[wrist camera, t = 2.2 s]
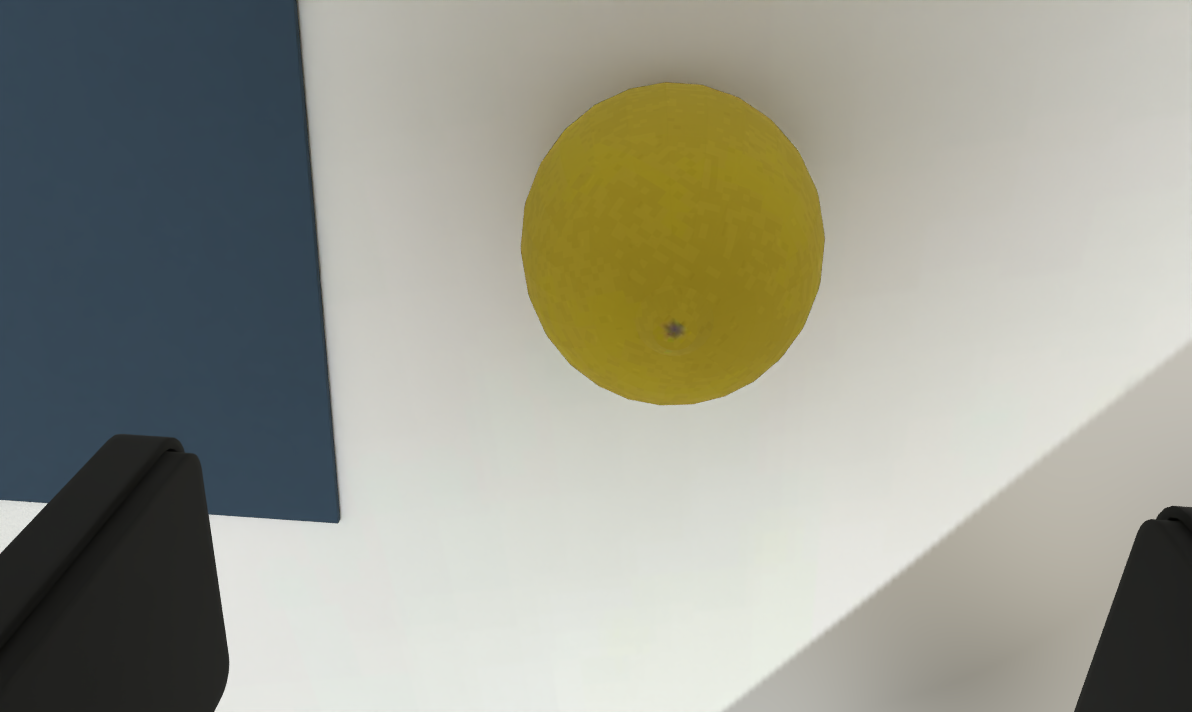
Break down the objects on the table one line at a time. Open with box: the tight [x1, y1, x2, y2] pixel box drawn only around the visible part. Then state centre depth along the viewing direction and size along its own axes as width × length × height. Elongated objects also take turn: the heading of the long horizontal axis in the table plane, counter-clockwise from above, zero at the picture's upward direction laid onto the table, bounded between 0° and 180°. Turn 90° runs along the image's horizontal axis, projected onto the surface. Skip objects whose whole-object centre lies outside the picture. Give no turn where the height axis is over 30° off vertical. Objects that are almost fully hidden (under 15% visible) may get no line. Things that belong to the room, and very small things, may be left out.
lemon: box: [521, 82, 825, 405], centre depth 19 cm, size 6×6×8 cm
